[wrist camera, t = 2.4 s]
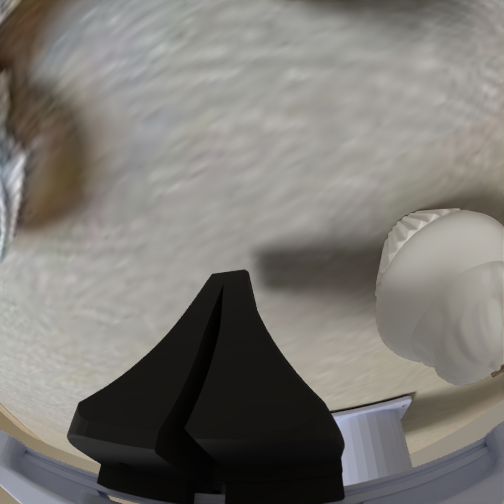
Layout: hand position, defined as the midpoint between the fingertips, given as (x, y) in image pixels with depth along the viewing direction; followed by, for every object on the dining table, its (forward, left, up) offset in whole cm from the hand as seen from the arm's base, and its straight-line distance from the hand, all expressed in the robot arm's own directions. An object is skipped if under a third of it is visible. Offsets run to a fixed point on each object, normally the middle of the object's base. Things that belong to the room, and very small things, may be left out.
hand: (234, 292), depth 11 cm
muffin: (0, -8, -2) cm, 8 cm away
